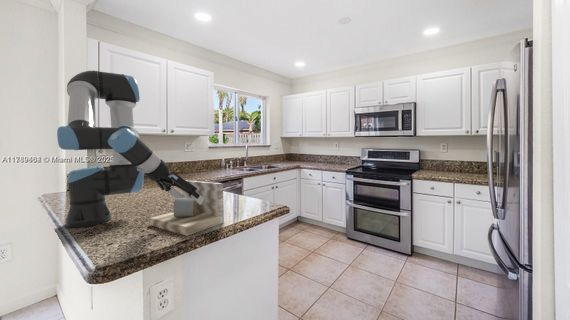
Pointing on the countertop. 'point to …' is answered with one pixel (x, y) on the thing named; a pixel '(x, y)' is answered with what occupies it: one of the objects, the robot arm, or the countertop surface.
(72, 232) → the countertop surface
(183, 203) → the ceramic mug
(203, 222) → the wall shelf
